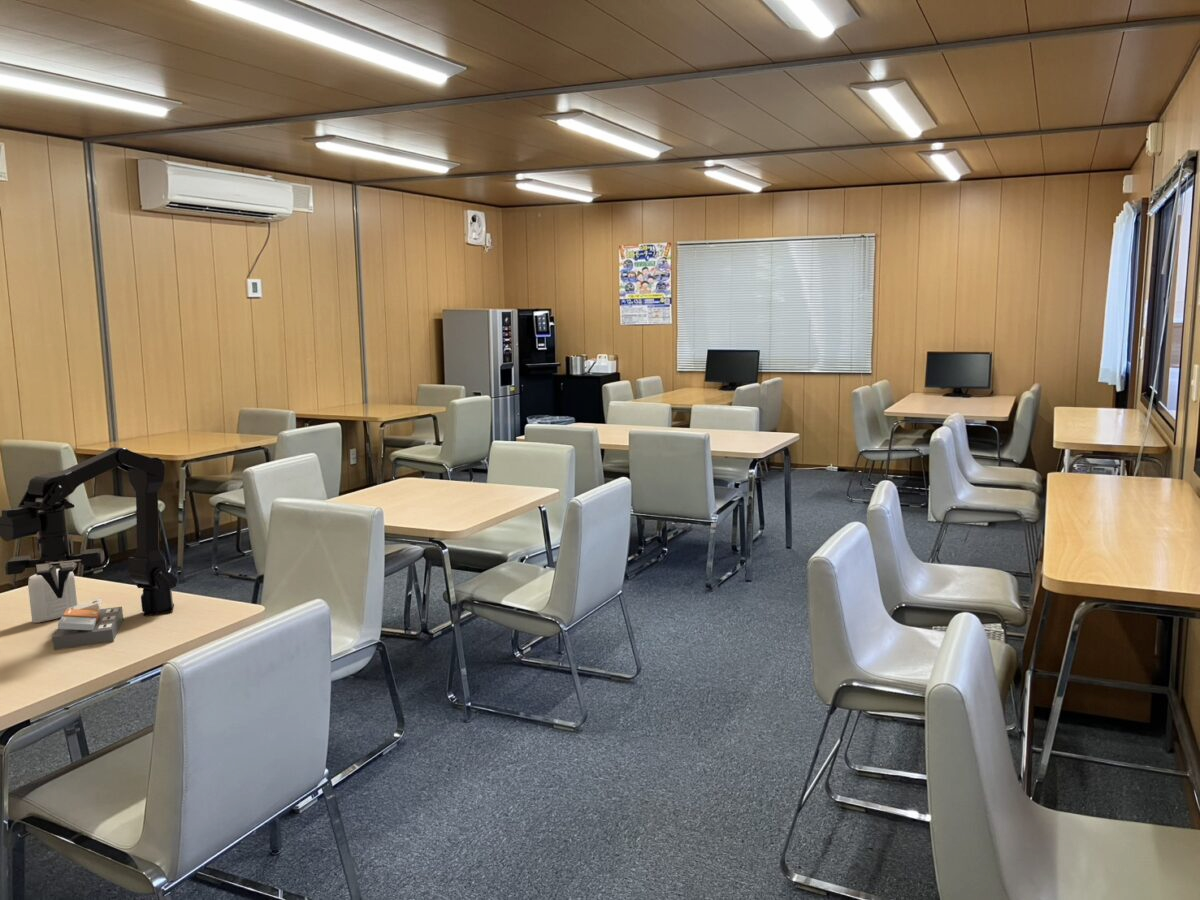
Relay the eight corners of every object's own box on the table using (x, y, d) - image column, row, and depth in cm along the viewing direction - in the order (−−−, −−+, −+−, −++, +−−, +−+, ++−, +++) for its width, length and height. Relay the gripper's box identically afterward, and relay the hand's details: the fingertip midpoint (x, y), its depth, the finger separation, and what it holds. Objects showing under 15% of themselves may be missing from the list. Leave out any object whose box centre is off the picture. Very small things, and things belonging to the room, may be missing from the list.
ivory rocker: (102, 603, 221) (100, 597, 221) (99, 608, 217) (97, 603, 217) (71, 612, 219) (69, 607, 219) (67, 618, 215) (65, 613, 215)
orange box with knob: (99, 616, 216) (100, 610, 216) (96, 622, 212) (97, 616, 212) (66, 614, 213) (66, 608, 213) (62, 620, 209) (63, 614, 209)
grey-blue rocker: (95, 624, 211) (96, 618, 211) (92, 630, 206) (93, 624, 206) (61, 622, 208) (62, 616, 208) (57, 628, 204) (58, 622, 204)
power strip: (123, 617, 224) (121, 604, 224) (113, 641, 208) (111, 626, 207) (68, 625, 220) (66, 611, 219) (53, 650, 203) (52, 634, 203)
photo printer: (76, 610, 231) (70, 564, 229) (81, 614, 228) (75, 567, 226) (30, 621, 224) (24, 573, 222) (34, 625, 221) (28, 576, 219)
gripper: (104, 519, 214) (111, 583, 216) (13, 527, 207) (21, 593, 209) (97, 529, 203) (104, 596, 206) (0, 538, 197) (9, 607, 199)
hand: (60, 597), depth 205 cm, fingers closed
